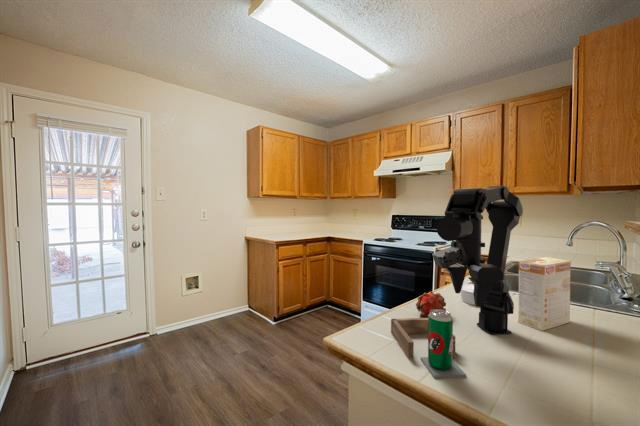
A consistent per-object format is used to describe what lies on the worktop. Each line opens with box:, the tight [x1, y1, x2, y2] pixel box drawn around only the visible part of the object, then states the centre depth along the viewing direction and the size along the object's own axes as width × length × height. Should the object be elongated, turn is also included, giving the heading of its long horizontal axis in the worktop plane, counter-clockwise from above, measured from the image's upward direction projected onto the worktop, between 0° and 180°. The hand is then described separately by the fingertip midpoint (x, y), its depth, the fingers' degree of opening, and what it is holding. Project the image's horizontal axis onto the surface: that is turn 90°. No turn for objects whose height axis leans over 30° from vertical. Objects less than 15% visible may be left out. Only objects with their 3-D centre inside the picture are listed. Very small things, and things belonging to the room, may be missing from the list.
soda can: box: [427, 309, 454, 371], centre depth 61 cm, size 5×5×12 cm
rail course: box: [390, 317, 456, 360], centre depth 72 cm, size 13×14×4 cm
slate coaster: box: [420, 356, 467, 379], centre depth 61 cm, size 7×7×1 cm
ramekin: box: [459, 283, 475, 306], centre depth 104 cm, size 11×11×5 cm
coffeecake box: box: [517, 256, 571, 332], centre depth 85 cm, size 15×7×20 cm, turn 113°
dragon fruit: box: [415, 290, 447, 317], centre depth 91 cm, size 8×8×12 cm
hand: (467, 298), depth 69 cm, fingers open, 9 cm apart
